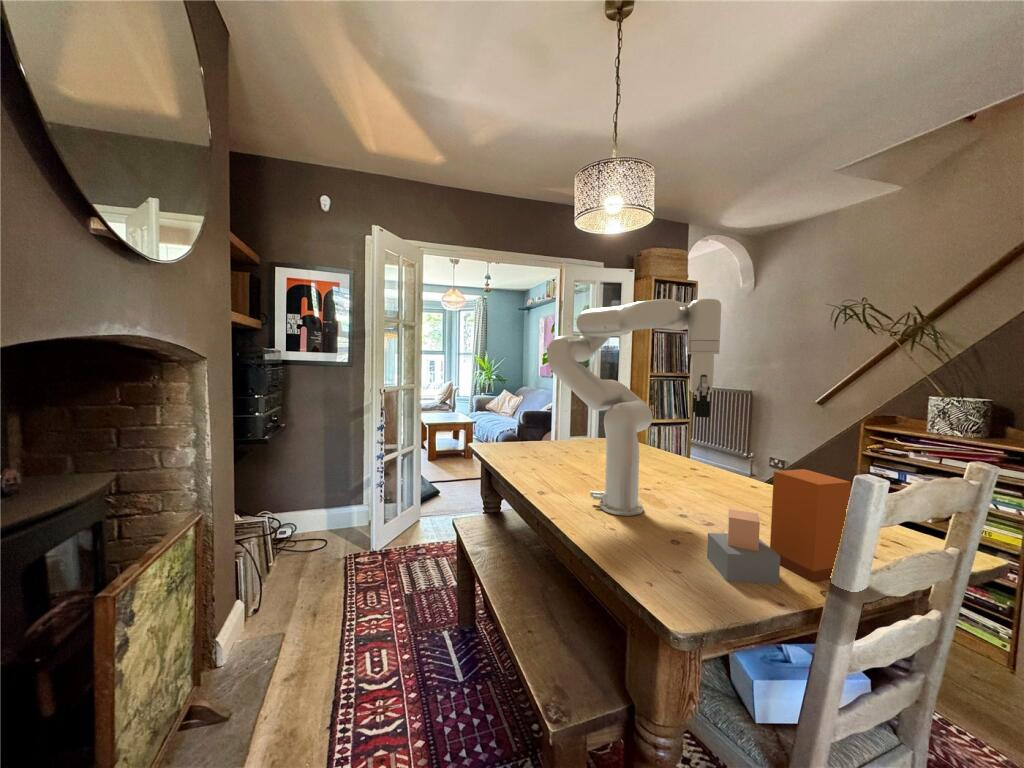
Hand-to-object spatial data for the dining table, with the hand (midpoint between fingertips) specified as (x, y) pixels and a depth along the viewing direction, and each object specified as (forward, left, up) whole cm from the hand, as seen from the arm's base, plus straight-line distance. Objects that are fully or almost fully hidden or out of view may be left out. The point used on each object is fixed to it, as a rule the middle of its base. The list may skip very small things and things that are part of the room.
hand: (700, 414), depth 106 cm
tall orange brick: (+21, -13, -31) cm, 39 cm away
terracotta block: (+8, -19, -25) cm, 32 cm away
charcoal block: (+7, -20, -31) cm, 37 cm away
